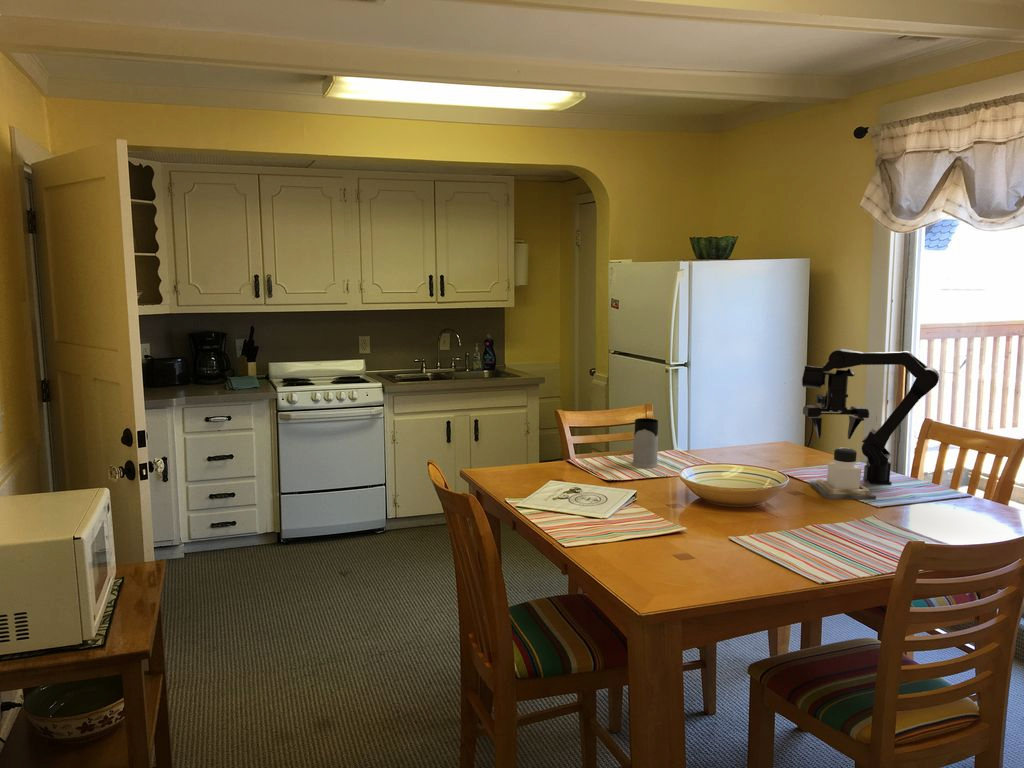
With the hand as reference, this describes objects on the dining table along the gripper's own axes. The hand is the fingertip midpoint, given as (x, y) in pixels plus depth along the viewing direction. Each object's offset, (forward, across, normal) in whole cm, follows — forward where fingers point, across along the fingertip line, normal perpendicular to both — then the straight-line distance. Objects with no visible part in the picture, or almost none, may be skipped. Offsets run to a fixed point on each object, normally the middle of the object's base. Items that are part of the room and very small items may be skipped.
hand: (833, 438), depth 258 cm
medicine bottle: (+11, +3, +19) cm, 22 cm away
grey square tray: (+12, +3, +19) cm, 23 cm away
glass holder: (+12, +57, -11) cm, 59 cm away
